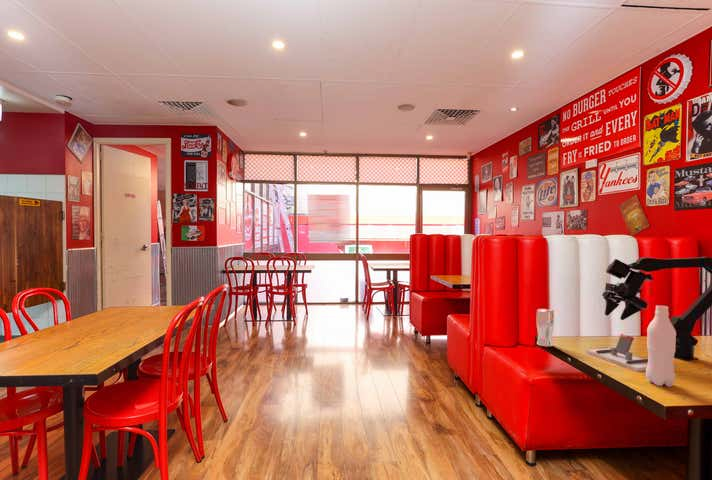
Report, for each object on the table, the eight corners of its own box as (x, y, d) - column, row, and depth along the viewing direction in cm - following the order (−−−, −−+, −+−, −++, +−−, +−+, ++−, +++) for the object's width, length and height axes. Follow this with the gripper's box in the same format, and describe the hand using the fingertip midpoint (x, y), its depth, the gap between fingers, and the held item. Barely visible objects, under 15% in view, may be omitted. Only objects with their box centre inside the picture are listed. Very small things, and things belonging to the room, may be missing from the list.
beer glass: (549, 342, 158) (550, 309, 158) (556, 347, 151) (557, 312, 151) (533, 341, 159) (533, 308, 159) (539, 346, 152) (540, 311, 152)
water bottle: (639, 379, 118) (641, 304, 118) (659, 379, 119) (661, 304, 118) (660, 388, 111) (662, 308, 111) (681, 388, 112) (683, 308, 111)
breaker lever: (617, 352, 139) (623, 334, 139) (627, 355, 135) (634, 337, 135) (614, 351, 138) (621, 333, 139) (624, 354, 134) (631, 336, 135)
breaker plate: (609, 350, 148) (609, 341, 148) (662, 368, 129) (662, 358, 128) (586, 352, 145) (586, 343, 145) (636, 371, 125) (636, 360, 125)
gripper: (600, 273, 157) (582, 303, 157) (632, 276, 138) (611, 311, 138) (623, 286, 157) (605, 316, 157) (657, 291, 138) (637, 326, 138)
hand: (613, 317), depth 147 cm, fingers open, 9 cm apart
